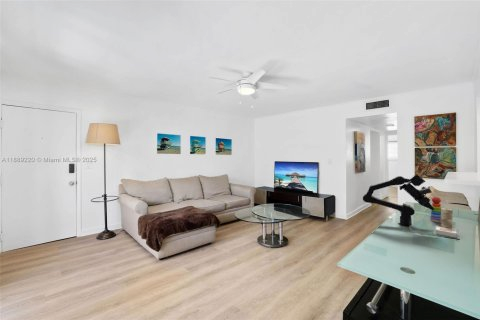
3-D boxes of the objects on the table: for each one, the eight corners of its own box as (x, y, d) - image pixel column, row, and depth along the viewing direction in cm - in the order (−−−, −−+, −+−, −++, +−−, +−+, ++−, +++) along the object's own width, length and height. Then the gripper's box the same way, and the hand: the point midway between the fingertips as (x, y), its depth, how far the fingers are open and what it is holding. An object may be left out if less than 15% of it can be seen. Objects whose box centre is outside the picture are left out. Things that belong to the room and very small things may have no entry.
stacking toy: (438, 220, 166) (438, 196, 166) (447, 223, 158) (447, 198, 158) (427, 220, 167) (427, 195, 166) (435, 223, 159) (435, 197, 158)
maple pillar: (442, 229, 143) (443, 209, 143) (440, 227, 147) (441, 208, 147) (452, 230, 141) (452, 210, 140) (450, 228, 145) (450, 208, 144)
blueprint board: (460, 240, 126) (460, 234, 126) (432, 235, 135) (432, 229, 135) (459, 230, 144) (459, 224, 143) (434, 226, 152) (434, 221, 152)
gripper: (425, 184, 142) (448, 203, 136) (419, 181, 158) (439, 198, 153) (410, 195, 146) (431, 214, 140) (405, 191, 162) (424, 208, 157)
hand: (431, 208), depth 147 cm, fingers open, 9 cm apart
